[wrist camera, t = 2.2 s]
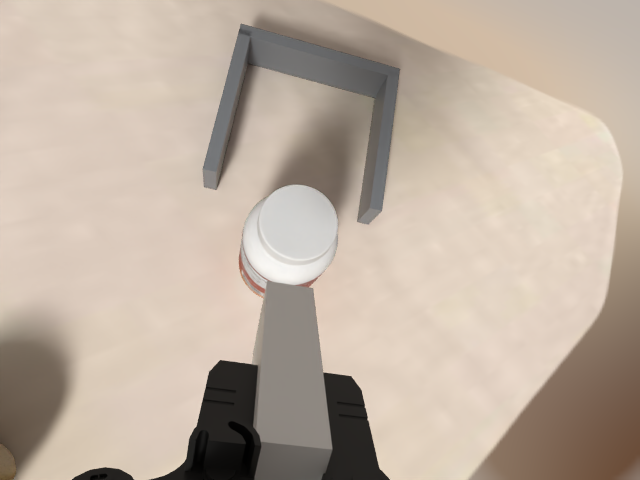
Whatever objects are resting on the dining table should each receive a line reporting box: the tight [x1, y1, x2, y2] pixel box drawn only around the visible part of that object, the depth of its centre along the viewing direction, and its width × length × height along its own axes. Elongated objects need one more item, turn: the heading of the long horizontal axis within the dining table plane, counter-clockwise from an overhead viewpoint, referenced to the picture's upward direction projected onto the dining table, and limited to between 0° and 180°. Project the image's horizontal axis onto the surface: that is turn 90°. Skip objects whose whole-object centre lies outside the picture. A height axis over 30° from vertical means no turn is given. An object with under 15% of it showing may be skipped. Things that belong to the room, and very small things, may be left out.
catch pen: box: [203, 24, 400, 224], centre depth 39 cm, size 14×14×4 cm
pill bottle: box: [239, 184, 338, 298], centre depth 32 cm, size 6×6×11 cm
